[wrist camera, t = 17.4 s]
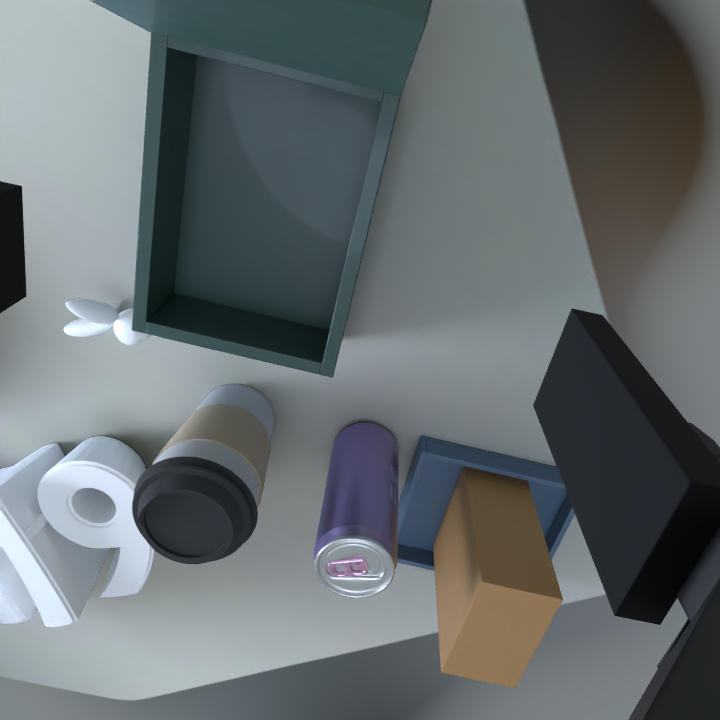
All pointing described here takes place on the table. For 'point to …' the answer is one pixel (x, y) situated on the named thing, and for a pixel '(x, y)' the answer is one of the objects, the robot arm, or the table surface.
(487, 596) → the packet
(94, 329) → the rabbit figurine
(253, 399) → the coffee cup
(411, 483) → the tray
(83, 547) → the white letter sculpture
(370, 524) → the beverage can
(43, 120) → the table surface
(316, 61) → the lid
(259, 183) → the box
